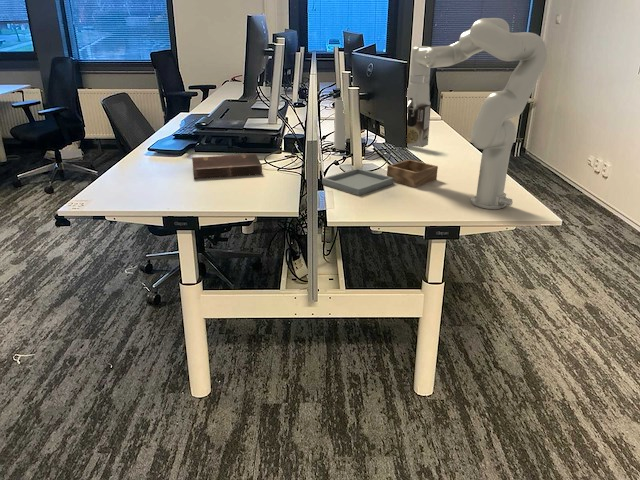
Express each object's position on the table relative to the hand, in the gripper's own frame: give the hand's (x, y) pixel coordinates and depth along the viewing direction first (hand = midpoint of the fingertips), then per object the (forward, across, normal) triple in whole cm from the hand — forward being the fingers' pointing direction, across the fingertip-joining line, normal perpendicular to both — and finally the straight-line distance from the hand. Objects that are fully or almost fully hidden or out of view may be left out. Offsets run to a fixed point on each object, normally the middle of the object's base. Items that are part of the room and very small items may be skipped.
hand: (416, 124), depth 212 cm
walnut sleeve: (+24, 0, -1) cm, 24 cm away
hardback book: (+23, +49, -66) cm, 85 cm away
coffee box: (+9, 0, 0) cm, 9 cm away
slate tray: (+23, +21, -13) cm, 34 cm away
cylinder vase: (+23, -21, -58) cm, 65 cm away
